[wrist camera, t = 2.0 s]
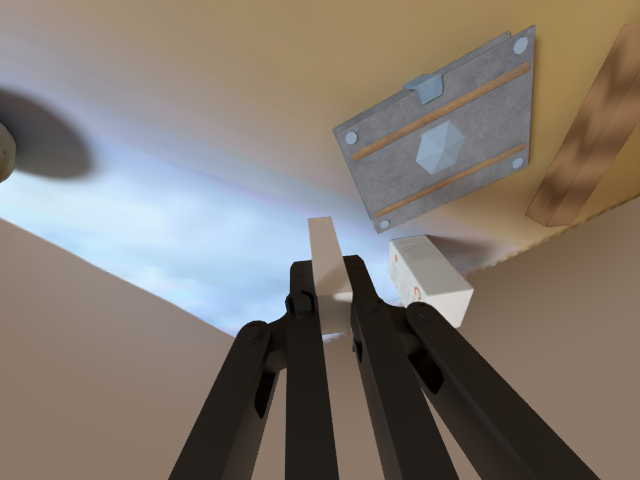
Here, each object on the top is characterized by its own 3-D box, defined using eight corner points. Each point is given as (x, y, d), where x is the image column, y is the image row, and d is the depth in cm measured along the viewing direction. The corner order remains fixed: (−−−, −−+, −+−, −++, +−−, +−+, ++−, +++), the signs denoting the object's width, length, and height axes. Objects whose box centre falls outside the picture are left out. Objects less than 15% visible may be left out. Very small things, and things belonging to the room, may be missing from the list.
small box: (419, 268, 44) (460, 328, 33) (387, 273, 44) (417, 334, 33) (425, 233, 39) (476, 289, 28) (389, 238, 39) (426, 297, 28)
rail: (623, 25, 26) (672, 16, 22) (656, 23, 26) (709, 14, 22) (525, 215, 39) (546, 227, 36) (547, 213, 39) (570, 225, 36)
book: (372, 224, 38) (382, 241, 34) (330, 125, 29) (336, 132, 25) (503, 163, 34) (533, 174, 30) (502, 28, 25) (544, 17, 21)
